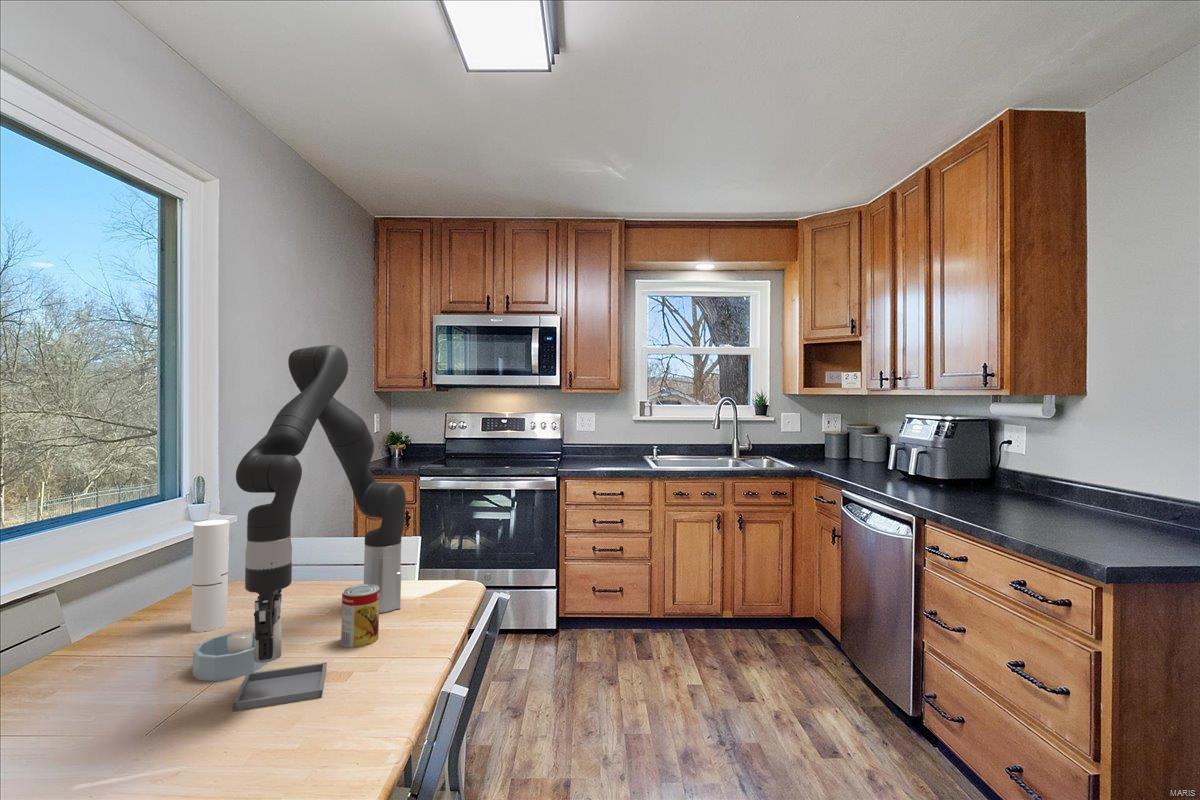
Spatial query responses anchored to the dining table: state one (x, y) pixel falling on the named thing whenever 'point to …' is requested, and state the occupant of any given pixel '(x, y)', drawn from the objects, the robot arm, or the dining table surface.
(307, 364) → the robot arm
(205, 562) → the cylindrical container
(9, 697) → the dining table surface
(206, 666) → the bowl
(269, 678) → the tray
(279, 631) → the white cylinder
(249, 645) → the white glass cylinder
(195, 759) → the dining table surface
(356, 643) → the canned food
